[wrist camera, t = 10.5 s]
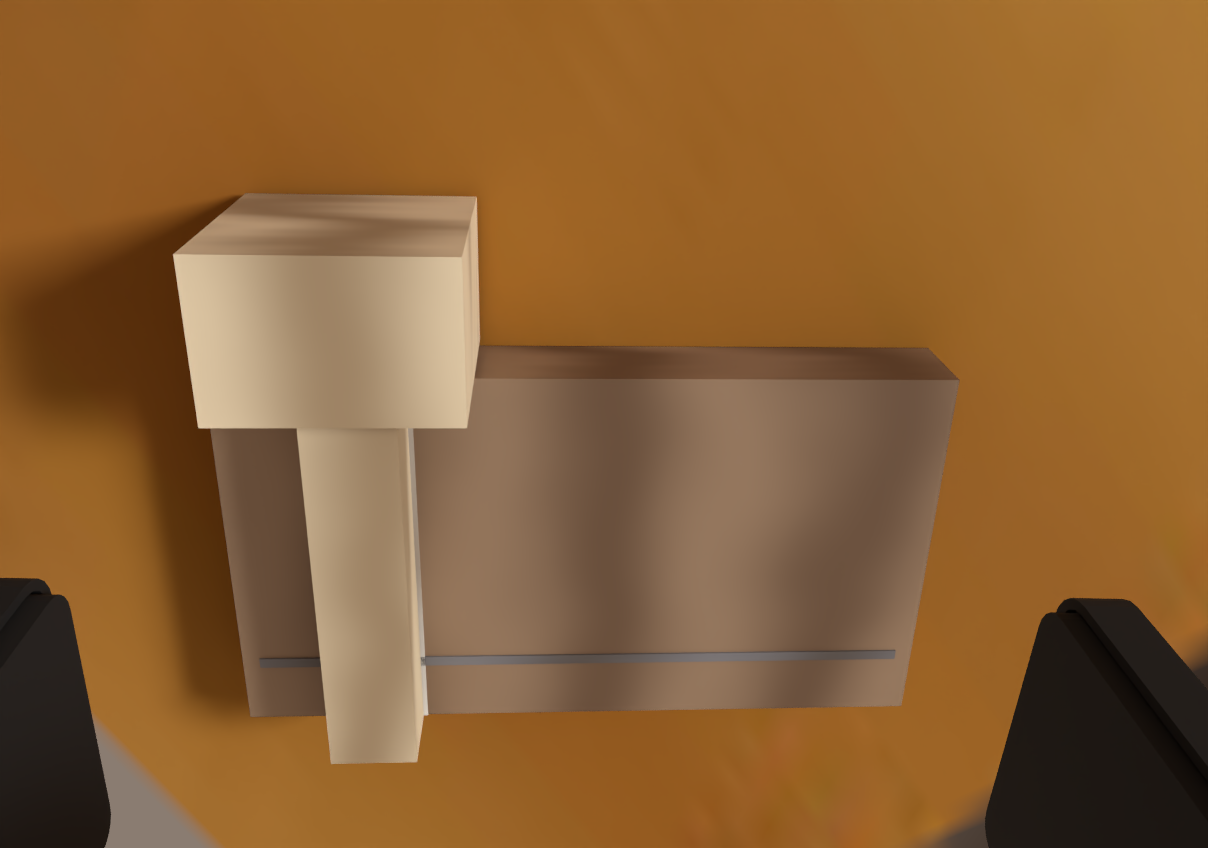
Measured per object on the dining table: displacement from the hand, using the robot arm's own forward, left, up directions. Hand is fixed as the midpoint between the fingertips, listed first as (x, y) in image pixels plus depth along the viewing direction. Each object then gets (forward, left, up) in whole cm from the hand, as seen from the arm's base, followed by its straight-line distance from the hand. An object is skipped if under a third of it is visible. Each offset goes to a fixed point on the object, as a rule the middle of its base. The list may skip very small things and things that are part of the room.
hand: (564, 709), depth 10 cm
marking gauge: (+7, -5, -20) cm, 21 cm away
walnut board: (+9, +1, -20) cm, 22 cm away
